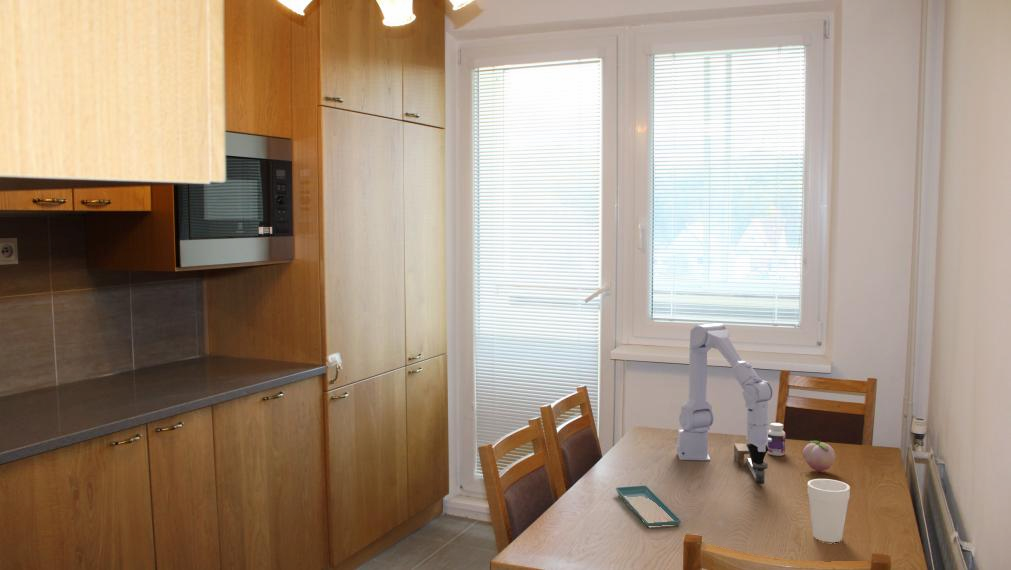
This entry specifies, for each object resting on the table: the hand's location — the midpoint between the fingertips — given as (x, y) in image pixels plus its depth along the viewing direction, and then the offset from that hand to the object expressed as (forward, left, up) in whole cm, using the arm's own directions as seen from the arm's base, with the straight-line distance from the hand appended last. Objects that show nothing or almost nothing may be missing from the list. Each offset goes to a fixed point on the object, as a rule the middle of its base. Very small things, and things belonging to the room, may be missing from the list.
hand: (757, 469), depth 237 cm
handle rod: (0, +2, -2) cm, 3 cm away
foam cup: (+9, -42, -4) cm, 43 cm away
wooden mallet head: (0, +17, -3) cm, 17 cm away
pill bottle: (+11, +28, -4) cm, 30 cm away
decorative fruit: (+20, +10, -4) cm, 23 cm away
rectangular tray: (-33, -27, -4) cm, 43 cm away
